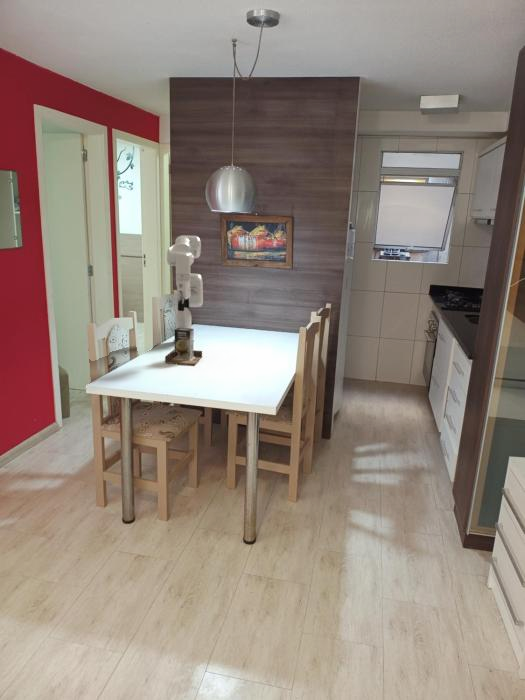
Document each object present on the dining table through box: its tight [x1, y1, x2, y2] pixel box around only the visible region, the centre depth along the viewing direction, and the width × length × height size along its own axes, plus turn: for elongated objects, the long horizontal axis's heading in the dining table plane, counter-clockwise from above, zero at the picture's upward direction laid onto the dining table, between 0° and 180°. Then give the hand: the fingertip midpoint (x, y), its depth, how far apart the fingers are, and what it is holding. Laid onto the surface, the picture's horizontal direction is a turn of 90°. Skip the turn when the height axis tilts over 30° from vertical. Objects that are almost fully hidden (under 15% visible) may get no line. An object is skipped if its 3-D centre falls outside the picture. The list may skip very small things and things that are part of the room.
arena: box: [164, 348, 203, 367], centre depth 285 cm, size 16×16×4 cm
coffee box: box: [174, 327, 195, 360], centre depth 286 cm, size 9×6×16 cm
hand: (183, 309), depth 281 cm, fingers open, 9 cm apart
